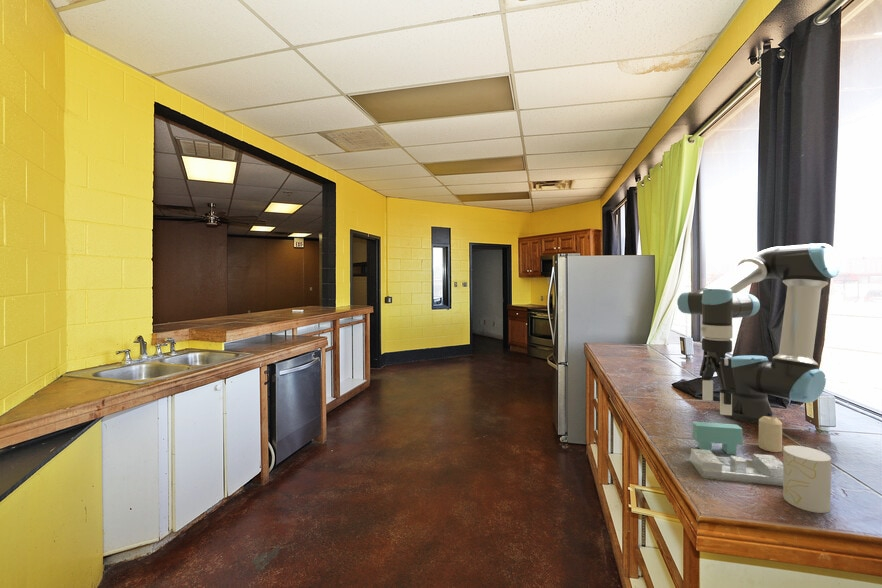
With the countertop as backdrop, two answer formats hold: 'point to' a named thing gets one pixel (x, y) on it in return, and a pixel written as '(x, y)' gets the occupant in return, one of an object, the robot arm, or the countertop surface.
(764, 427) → the candle
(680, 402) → the countertop surface
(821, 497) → the cup
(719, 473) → the white block holder tray
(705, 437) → the teal notched block
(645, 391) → the countertop surface
